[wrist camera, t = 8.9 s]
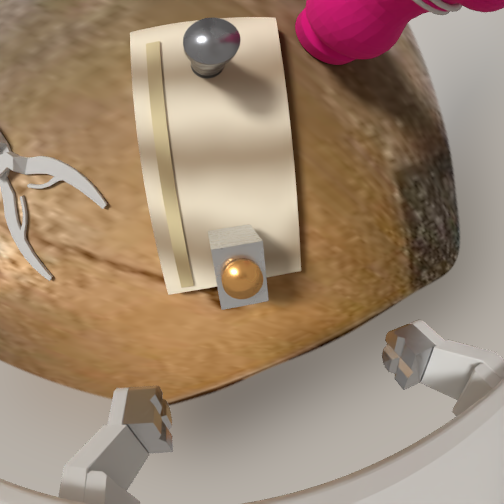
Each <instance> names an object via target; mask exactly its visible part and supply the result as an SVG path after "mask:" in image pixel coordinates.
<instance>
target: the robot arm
mask: <svg viewBox="0 0 504 504" xmlns="http://www.w3.org/2000/svg"><path fill="white" fill-rule="evenodd" d="M385 341H386V342H387V345H386V346H385V348H384V349H383V354H382V358H383V363H384V365H385V367H386V369H387V370H388V371H389V372H392V373H394V374H395V380H396V381H397V382H398V384H399V385H400V386H401V387H402V388H403V390H405V389H407V388H409V387H411V386H413V385H415V384H417V383H420V382H421V383H422V384H424V385H426V386H428V387H430V388H432V389H435V390H437V391H439V392H441V393H443V394H445V395H448V396H450V397H452V398H454V399H456V400H458V401H457V403H456V404H455V406H454V408H453V413H454V414H455V415H456V417H455V418H454V419H452V420H451V421H449V422H448V423H446V424H445V425H443V426H442V427H440V428H439V429H437V430H436V431H434V432H432V433H431V434H429V435H428V436H426V437H424V438H422V439H421V440H419V441H417V442H416V443H414V444H412V445H410V446H409V447H407V448H405V449H403V450H401V451H399V452H397V453H395V454H394V455H392V456H389V457H387V458H385V459H383V460H381V461H379V462H377V463H375V464H372V465H371V466H368V467H366V468H363V469H361V470H359V471H356V472H354V473H351V474H349V475H346V476H344V477H341V478H338V479H335V480H333V481H330V482H327V483H324V484H321V485H318V486H315V487H311V488H308V489H305V490H301V491H298V492H294V493H290V494H286V495H282V496H278V497H274V498H270V499H264V500H260V501H254V502H249V503H243V504H504V359H502V358H501V357H500V356H499V355H498V354H497V353H496V352H493V351H490V350H486V349H482V348H478V347H474V346H470V345H467V344H463V343H459V342H456V341H452V340H446V341H445V340H444V339H443V338H442V337H441V336H440V335H439V334H438V333H436V332H435V331H434V330H433V329H432V328H431V327H430V326H428V325H427V324H426V323H425V322H424V321H422V320H416V321H414V322H412V323H409V324H407V325H404V326H402V327H399V328H397V329H394V330H392V331H389V332H388V333H387V335H386V339H385ZM171 427H172V417H171V411H170V408H169V405H168V403H167V401H166V400H164V399H162V391H161V389H160V387H159V386H145V387H130V388H116V390H115V391H114V394H113V399H112V404H111V409H110V414H109V419H108V425H103V426H102V427H101V428H100V429H99V430H98V431H97V432H96V434H94V436H92V438H91V439H90V440H89V441H88V442H87V443H86V444H85V445H84V446H83V447H82V448H81V449H80V450H79V451H78V452H77V453H76V454H75V455H74V456H73V457H72V458H71V459H70V460H69V461H68V462H67V463H66V464H65V465H64V469H63V474H62V480H61V485H60V492H59V497H55V496H51V495H48V494H44V493H41V492H37V491H34V490H30V489H27V488H24V487H21V486H18V485H16V484H13V483H10V482H8V481H5V480H3V479H0V504H140V501H138V500H137V499H136V498H135V497H134V496H132V495H131V494H130V493H128V492H127V489H128V487H129V486H130V484H131V483H132V481H133V480H134V478H135V477H136V475H137V474H138V472H139V470H140V469H141V467H142V466H143V464H144V462H145V461H146V459H147V458H148V456H149V453H163V452H172V451H173V445H172V435H171V433H170V431H169V429H170V428H171Z"/></svg>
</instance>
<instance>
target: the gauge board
mask: <svg viewBox="0 0 504 504" xmlns="http://www.w3.org/2000/svg"><path fill="white" fill-rule="evenodd" d="M220 19H224V20H226V21H228V22H230V23H231V24H233V25H234V26H235V27H236V28H237V30H238V32H239V34H240V39H241V41H240V46H239V49H238V51H237V53H236V55H235V56H234V57H233V59H232V60H230V61H229V62H228V63H226V64H225V66H224V68H223V69H222V70H221V71H220V72H218V73H217V74H214V75H210V76H205V75H201V74H199V73H197V72H196V71H195V70H194V69H193V68H192V66H191V61H190V60H189V59H188V58H187V56H186V55H185V52H184V48H183V37H184V34H185V32H186V31H187V29H188V28H189V27H190V26H191V25H192V24H194V23H195V22H197V21H189V22H182V23H175V24H169V25H163V26H157V27H152V28H147V29H143V30H138V31H134V32H130V48H131V71H132V86H133V99H134V110H135V119H136V128H137V137H138V145H139V152H140V159H141V166H142V172H143V178H144V184H145V190H146V196H147V202H148V207H149V212H150V217H151V222H152V227H153V232H154V237H155V241H156V246H157V250H158V255H159V259H160V263H161V267H162V271H163V275H164V279H165V283H166V287H167V291H168V295H170V294H176V293H182V292H188V291H194V290H200V289H205V288H211V287H217V282H216V277H215V271H214V265H213V259H212V254H211V248H210V242H209V235H208V231H211V230H217V229H223V228H229V227H235V226H241V225H248V224H250V225H251V226H252V228H253V229H254V230H255V231H256V233H257V234H258V235H259V237H260V238H261V239H262V241H263V249H264V259H265V269H266V277H272V276H277V275H282V274H287V273H292V272H297V271H301V257H300V237H299V221H298V206H297V192H296V179H295V167H294V156H293V146H292V136H291V126H290V117H289V108H288V100H287V92H286V84H285V76H284V69H283V62H282V55H281V48H280V41H279V35H278V29H277V23H276V18H267V17H243V18H220ZM198 21H199V20H198Z"/></svg>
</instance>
